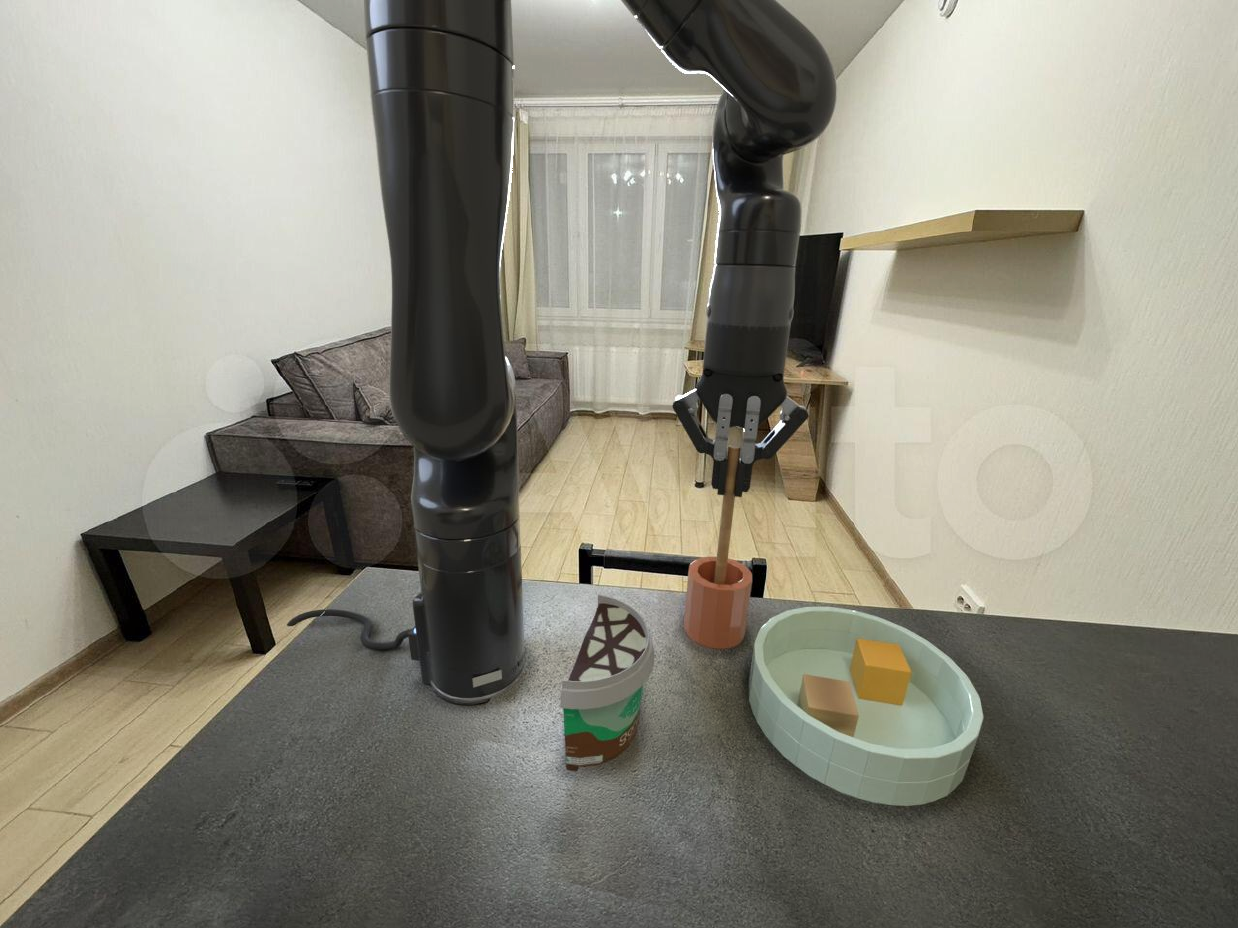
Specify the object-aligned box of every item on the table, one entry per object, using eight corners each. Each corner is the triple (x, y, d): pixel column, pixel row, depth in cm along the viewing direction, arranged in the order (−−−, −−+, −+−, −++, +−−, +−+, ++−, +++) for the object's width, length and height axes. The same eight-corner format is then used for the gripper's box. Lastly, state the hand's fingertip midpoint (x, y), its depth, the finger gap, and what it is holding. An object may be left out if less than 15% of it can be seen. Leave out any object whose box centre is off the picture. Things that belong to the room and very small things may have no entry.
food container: (637, 802, 40) (643, 700, 37) (560, 785, 41) (559, 685, 38) (658, 686, 52) (664, 600, 48) (597, 676, 53) (599, 591, 49)
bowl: (750, 782, 42) (758, 730, 40) (746, 636, 59) (752, 595, 57) (1006, 835, 39) (1029, 781, 37) (924, 664, 56) (936, 621, 54)
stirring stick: (712, 600, 58) (728, 447, 52) (712, 594, 59) (728, 444, 53) (723, 602, 58) (740, 448, 51) (723, 596, 59) (740, 445, 52)
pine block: (801, 742, 45) (808, 706, 44) (796, 707, 49) (803, 673, 47) (850, 752, 44) (859, 715, 43) (841, 715, 48) (849, 681, 47)
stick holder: (680, 647, 57) (686, 584, 54) (686, 610, 64) (691, 552, 61) (744, 658, 56) (753, 594, 53) (743, 619, 62) (751, 560, 60)
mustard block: (857, 698, 50) (866, 665, 49) (849, 669, 54) (856, 637, 52) (902, 706, 49) (912, 672, 48) (890, 676, 53) (899, 644, 52)
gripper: (820, 319, 50) (794, 486, 56) (678, 313, 53) (668, 473, 58) (833, 326, 43) (802, 516, 49) (669, 318, 46) (658, 500, 52)
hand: (729, 492), depth 54 cm, fingers closed on stirring stick, 1 cm apart
